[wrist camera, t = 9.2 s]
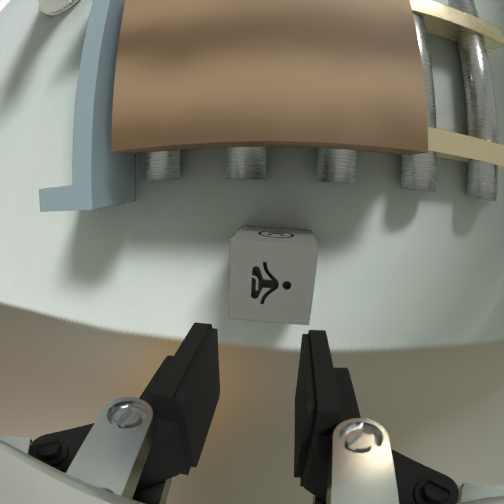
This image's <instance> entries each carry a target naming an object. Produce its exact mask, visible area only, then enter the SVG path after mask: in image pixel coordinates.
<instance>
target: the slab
mask: <svg viewBox="0 0 504 504" xmlns="http://www.w3.org/2000/svg"><path fill="white" fill-rule="evenodd" d="M227 147H306V148H330V149H347V150H361V151H373V152H384V153H393V154H402V155H414V154H421V153H428V124H427V107H426V95H425V85H424V76H423V68H422V61H421V54H420V48H419V42H418V36H417V31H416V26H415V21H414V16H413V12H412V7H411V3H410V0H126V1H125V6H124V12H123V17H122V23H121V30H120V36H119V43H118V51H117V60H116V69H115V80H114V92H113V108H112V135H111V152H118V153H129V154H139V153H149V152H160V151H172V150H186V149H203V148H227Z"/></svg>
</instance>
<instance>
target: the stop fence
mask: <svg viewBox="0 0 504 504" xmlns="http://www.w3.org/2000/svg"><path fill="white" fill-rule="evenodd" d="M125 1H126V0H93V3H92V7H91V11H90V15H89V20H88V24H87V29H86V34H85V39H84V44H83V49H82V55H81V62H80V68H79V75H78V83H77V92H76V102H75V114H74V130H73V185H70V186H61V187H53V188H45V189H39V198H40V212H47V211H72V210H94V209H98V208H103V207H108V206H112V205H117V204H122V203H127V202H131V201H135V154H129V153H118V152H111V135H112V108H113V92H114V80H115V69H116V60H117V51H118V43H119V36H120V30H121V23H122V17H123V12H124V6H125Z"/></svg>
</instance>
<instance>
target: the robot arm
mask: <svg viewBox="0 0 504 504" xmlns="http://www.w3.org/2000/svg"><path fill="white" fill-rule="evenodd" d="M219 395H220V380H219V361H218V334H217V329H214V328H212V325H211V324H204V323H194V324H193V326H192V328H191V329H190V331H189V333H188V334H187V336H186V337H185V339H184V341H183V342H182V344H181V346H180V347H179V349H178V350H177V352H176V353H175V355H174V356H167V357H166V358H165V360H164V361H163V363H162V364H161V366H160V367H159V369H158V370H157V372H156V373H155V375H154V377H153V378H152V379H151V381H150V383H149V384H148V386H147V387H146V389H145V390H144V392H143V393H142V395H141V396H140V398H139V399H138V398H132V397H126V398H119V399H117V400H114V401H112V402H110V403H109V404H107V405H106V406H105V408H104V409H103V411H102V412H101V414H100V415H99V417H98V419H97V420H96V422H95V423H93V424H89V425H85V426H82V427H77V428H73V429H69V430H64V431H60V432H55V433H51V434H46V435H43V436H40V437H39V438H37V439H36V440H34V441H32V440H31V439H30V438H20V437H11V436H1V435H0V504H166V500H167V496H168V492H169V488H170V485H171V478H172V477H174V476H177V475H178V474H179V473H180V474H186V475H188V473H189V471H190V467H196V466H197V464H198V461H199V458H200V455H201V452H202V449H203V446H204V443H205V440H206V436H207V433H208V430H209V427H210V424H211V421H212V418H213V415H214V412H215V409H216V406H217V402H218V399H219ZM294 454H295V455H294V477H301V485H300V486H304V488H305V489H306V490H308V491H309V492H310V493H312V494H313V495H314V496H313V503H312V504H504V486H496V485H482V484H471V483H463V484H462V485H461V486H457V485H456V484H455V482H454V481H453V480H452V479H451V478H449V477H448V476H446V475H444V474H442V473H439V472H437V471H435V470H433V469H431V468H429V467H426V466H424V465H422V464H420V463H418V462H416V461H414V460H412V459H410V458H408V457H406V456H404V455H402V454H400V453H398V452H396V451H394V450H392V449H391V446H390V441H389V436H388V433H387V431H386V429H385V428H384V427H383V426H382V425H381V424H379V423H377V422H376V421H373V420H370V419H365V418H361V417H360V414H359V409H358V405H357V401H356V397H355V393H354V389H353V385H352V382H351V378H350V374H349V371H348V369H347V368H333V364H332V359H331V354H330V349H329V344H328V340H327V335H326V331H323V330H309V333H308V334H303V335H302V343H301V352H300V362H299V370H298V379H297V387H296V395H295V453H294Z"/></svg>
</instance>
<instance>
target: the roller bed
mask: <svg viewBox="0 0 504 504" xmlns="http://www.w3.org/2000/svg"><path fill="white" fill-rule="evenodd" d="M410 3H411V7H412V12H413V16H414V21H415V26H416V31H417V36H418V42H419V48H420V54H421V61H422V68H423V76H424V85H425V95H426V107H427V124H428V153H421V154H414V155H402V169H401V188H408V189H416V190H424V191H432V192H435V191H436V167H437V157H440V158H446V159H451V160H456V161H462V162H466V163H468V185H467V196H469V197H475V198H481V199H487V200H492V201H496V197H497V176H498V170H504V146H503V145H500V144H498V143H497V122H496V109H495V99H494V91H493V83H492V77H491V70H490V65H489V59H488V54H487V53H489V52H491V51H493V50H495V49H497V48H499V47H500V46H502V45H504V38H503V34H502V30H501V28H499V27H496V26H494V25H492V24H490V23H488V22H486V21H484V20H481V19H479V17H478V13H477V10H476V7H475V3H474V0H448V4H449V7H448V6H445V5H443V4H440V3H437V2H433V1H430V0H410ZM426 32H428V33H431V34H435V35H438V36H442V37H445V38H448V39H451V40H454V41H457V42H458V47H459V52H460V58H461V64H462V71H463V79H464V87H465V97H466V108H467V124H468V136H467V135H463V134H459V133H455V132H450V131H446V130H441V129H436V108H435V94H434V83H433V73H432V65H431V58H430V51H429V44H428V38H427V33H426ZM356 176H357V150H347V149H330V148H318V180H317V181H323V182H338V183H353V184H356ZM167 179H180V150H172V151H160V152H149V153H144V180H167ZM227 179H266V147H227Z"/></svg>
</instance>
